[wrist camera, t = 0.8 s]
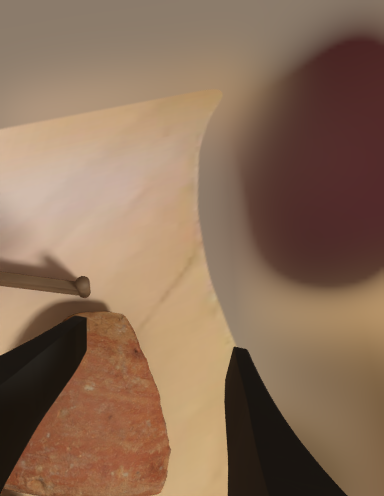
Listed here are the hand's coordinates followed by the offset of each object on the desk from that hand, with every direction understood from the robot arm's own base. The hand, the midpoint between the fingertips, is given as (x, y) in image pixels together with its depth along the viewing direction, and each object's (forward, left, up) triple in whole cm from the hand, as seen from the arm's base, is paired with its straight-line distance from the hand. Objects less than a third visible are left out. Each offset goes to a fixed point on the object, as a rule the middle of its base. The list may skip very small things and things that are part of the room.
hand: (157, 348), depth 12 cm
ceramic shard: (-4, +1, -18) cm, 19 cm away
